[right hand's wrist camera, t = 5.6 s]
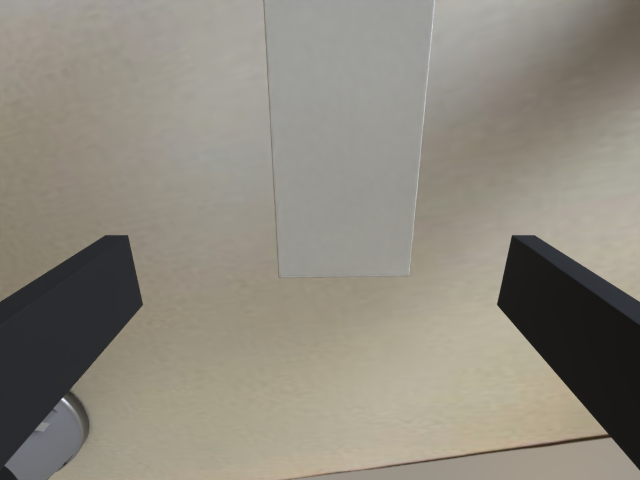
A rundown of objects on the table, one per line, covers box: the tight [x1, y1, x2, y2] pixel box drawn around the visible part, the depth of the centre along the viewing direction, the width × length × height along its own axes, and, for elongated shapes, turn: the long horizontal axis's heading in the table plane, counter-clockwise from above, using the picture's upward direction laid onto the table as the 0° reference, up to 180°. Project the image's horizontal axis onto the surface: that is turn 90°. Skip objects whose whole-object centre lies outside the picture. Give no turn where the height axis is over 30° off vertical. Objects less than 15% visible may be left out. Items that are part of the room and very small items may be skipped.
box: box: [263, 0, 435, 278], centre depth 16 cm, size 22×6×10 cm, turn 0°
